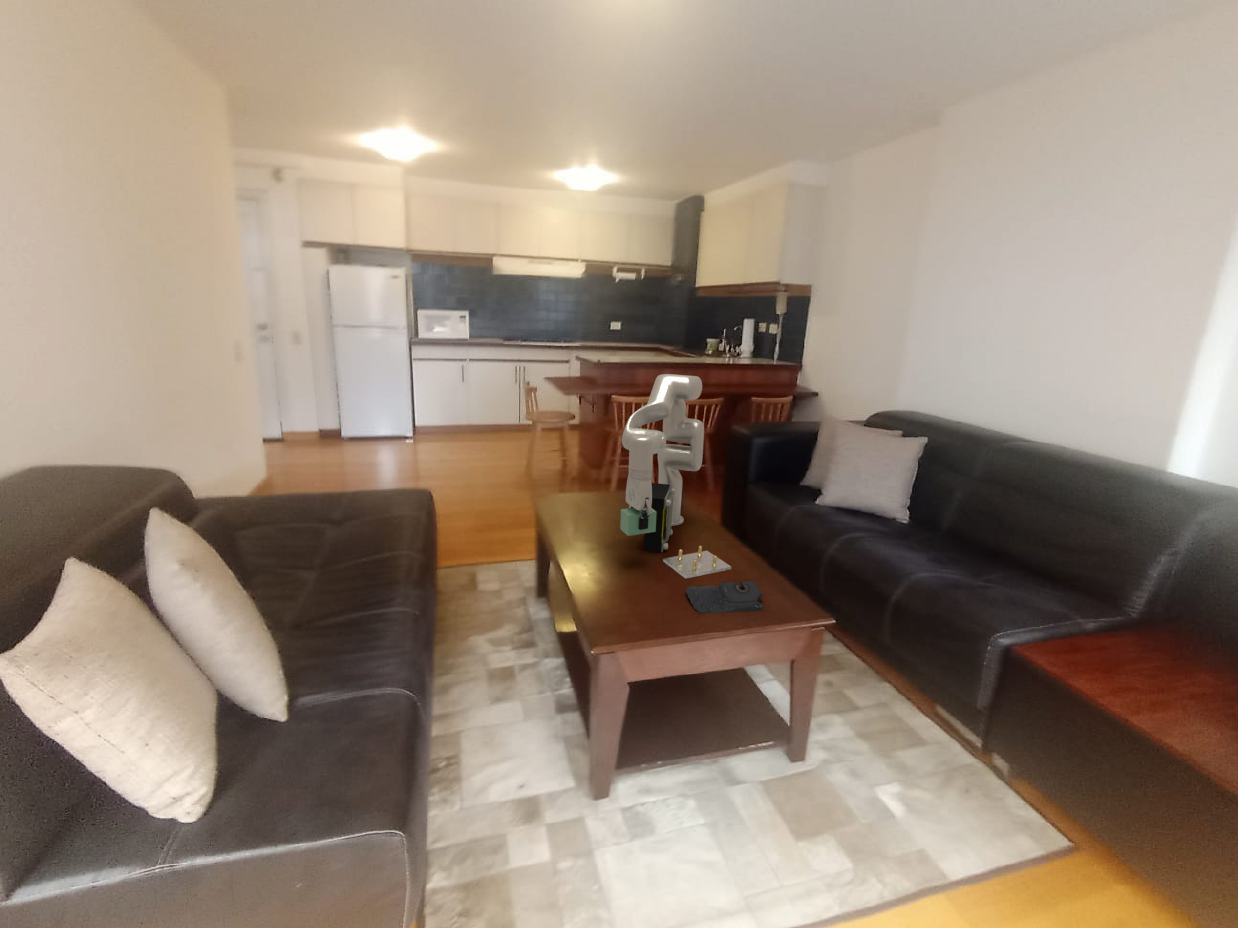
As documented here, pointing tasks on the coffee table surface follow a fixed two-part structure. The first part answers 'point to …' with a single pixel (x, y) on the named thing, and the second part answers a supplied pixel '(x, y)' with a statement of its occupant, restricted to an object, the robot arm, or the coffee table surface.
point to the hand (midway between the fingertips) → (638, 524)
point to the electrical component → (660, 518)
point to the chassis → (696, 563)
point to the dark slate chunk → (726, 598)
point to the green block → (636, 522)
